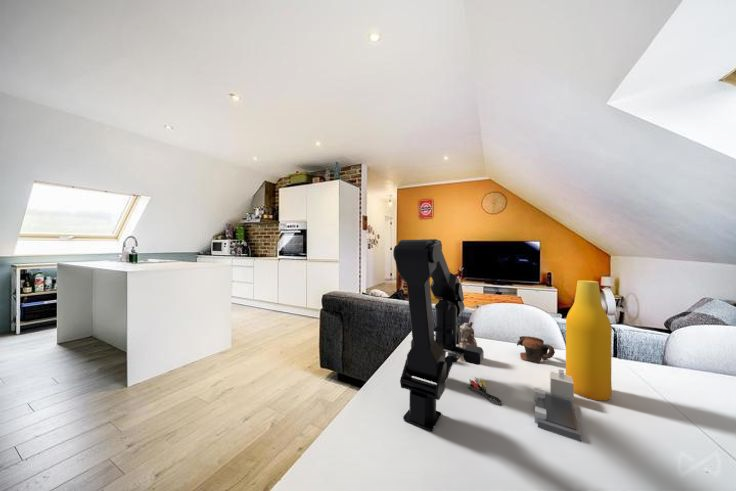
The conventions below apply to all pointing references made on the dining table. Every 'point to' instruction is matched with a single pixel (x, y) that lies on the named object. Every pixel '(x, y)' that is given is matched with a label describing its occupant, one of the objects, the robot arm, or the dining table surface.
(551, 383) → the brick
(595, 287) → the beer bottle
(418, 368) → the robot arm
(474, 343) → the figurine
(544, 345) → the pottery mug
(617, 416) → the dining table surface
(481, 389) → the composite cable
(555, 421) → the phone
